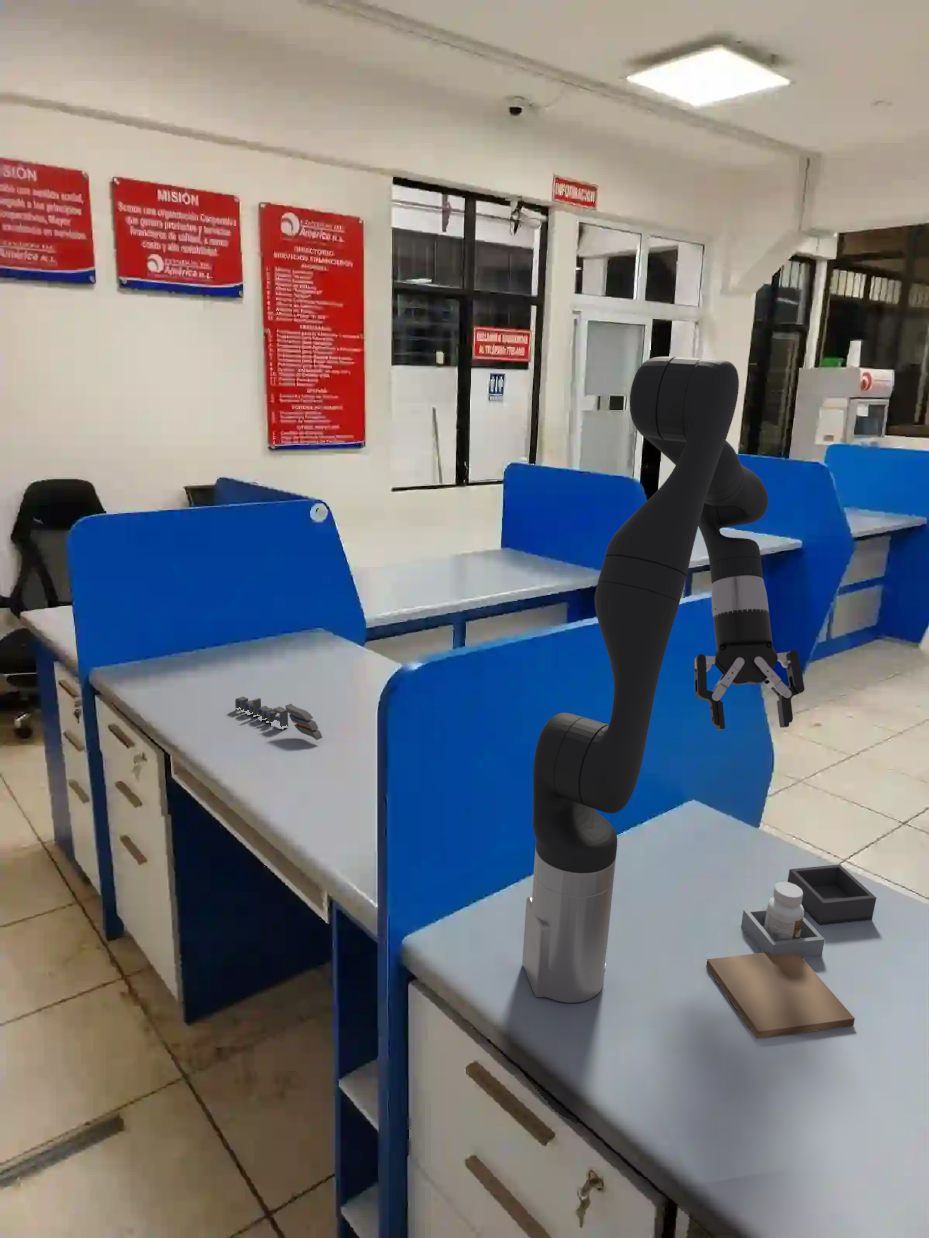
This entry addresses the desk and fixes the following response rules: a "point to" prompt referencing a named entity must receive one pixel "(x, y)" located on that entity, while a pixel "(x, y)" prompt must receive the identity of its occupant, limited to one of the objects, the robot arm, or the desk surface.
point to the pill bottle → (785, 912)
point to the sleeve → (805, 946)
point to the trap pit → (833, 895)
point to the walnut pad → (778, 994)
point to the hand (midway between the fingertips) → (752, 728)
